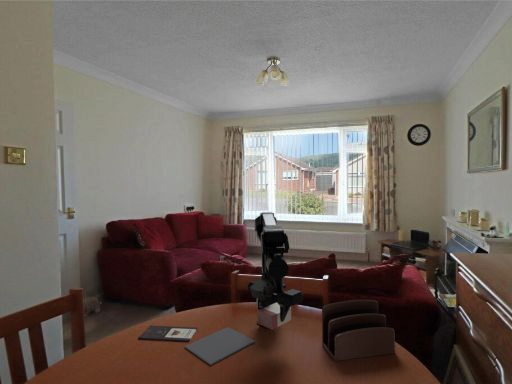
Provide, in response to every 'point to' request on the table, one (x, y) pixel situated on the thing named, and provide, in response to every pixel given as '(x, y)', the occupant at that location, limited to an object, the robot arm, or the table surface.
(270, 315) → the card box
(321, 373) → the table surface
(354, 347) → the letter holder
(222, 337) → the mat
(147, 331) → the chocolate bar
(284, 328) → the table surface
